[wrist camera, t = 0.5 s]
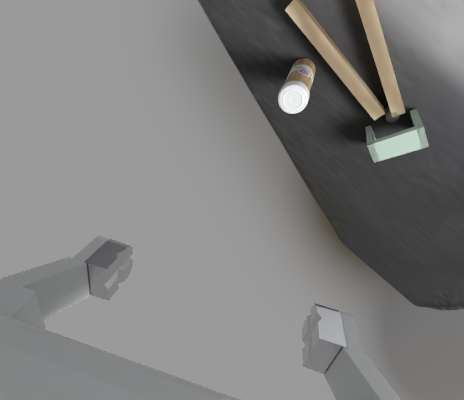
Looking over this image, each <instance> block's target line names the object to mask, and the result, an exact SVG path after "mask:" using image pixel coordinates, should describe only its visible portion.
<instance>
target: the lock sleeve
mask: <svg viewBox="0 0 464 400" xmlns="http://www.w3.org/2000/svg"><path fill="white" fill-rule="evenodd" d="M410 114H411V118H412V122H413V125H414V127H412V128H409V129H406V130H403V131H400V132H397V133H395V134H392V135H389V136H386V137H383V138H380V139H377V140H376V138H375V135H374V132H373V130H372V127H371V125H370V126H367V127H365V129H366V138H367V146H368V149H369V151H370V154H371V157H372V159H373V162H374V163H375V162H378V161H381V160H385V159H388V158H392V157H395V156H399V155H402V154H405V153H409V152H412V151H416V150H419V149H423V148H426V147H429V145H428V141H427V137H426V133H425V130H424V126H423V124H422V121H421V119H420V117H419V114H418V112H417V110H416V109H413V110H411V111H410Z"/></svg>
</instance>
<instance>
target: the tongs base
mask: <svg viewBox="0 0 464 400" xmlns="http://www.w3.org/2000/svg"><path fill="white" fill-rule="evenodd" d="M355 1H356V4H357V7H358V10H359V13H360V16H361V20H362V23H363V26H364V29H365V32H366V35H367V39H368V42H369V45H370V48H371V51H372V54H373V57H374V61H375V64H376V67H377V70H378V73H379V76H380V80H381V83H382V86H383V89H384V92H385V95H386V99H387V102H388V105H389V106H387V107H386V108H385V117H386V120H387V122H389V123H393V122H396V121H397V120H398V119H399V115H401V114H403V113H406V112H405V109H404V105H403V102H402V99H401V95H400V92H399V88H398V85H397V81H396V78H395V74H394V71H393V67H392V64H391V60H390V57H389V53H388V50H387V46H386V43H385V39H384V36H383V32H382V29H381V25H380V22H379V19H378V15H377V12H376V8H375V5H374V1H373V0H355Z"/></svg>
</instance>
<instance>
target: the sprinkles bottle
mask: <svg viewBox="0 0 464 400" xmlns="http://www.w3.org/2000/svg"><path fill="white" fill-rule="evenodd" d="M314 75H315V65H314V64H313V62H312V61H311V60H309V59H306V58H302V59H299V60H297V61H296V62H295V63H294V64H293V65H292V67H291V70H290V72H289V74H288V77H287V79H286V81H285V84H284V86H283V87H282V88H281V90H280V92H279V95H278V103H279V106H280V107H281V109H282V110H283V111H285V112H287V113H291V114H294V113H298V112H300V111H302V110H303V109H304V108H305V107H306V105H307V103H308V100H309V92H310V88H311V85H312V82H313V78H314Z"/></svg>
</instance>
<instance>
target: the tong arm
mask: <svg viewBox="0 0 464 400" xmlns="http://www.w3.org/2000/svg"><path fill="white" fill-rule="evenodd" d="M285 11H286V12H287V13H288V15H289V16H290V17H291V18H292V20H293V21H294V22H295V23H296V25H297V26H298V27H299V28H300V29H301V31H302V32H303V33H304V34H305V36H306V37H307V38H308V39H309V41H310V42H311V43H312V44H313V46H314V47H315V48H316V49H317V50H318V52H319V53H320V54H321V55H322V57H323V58H324V59H325V60H326V62H327V63H328V64H329V65H330V67H331V68H332V69H333V70H334V71H335V73H336V74H337V75H338V76H339V78H340V79H341V80H342V81H343V83H344V84H345V85H346V86H347V88H348V89H349V90H350V91H351V92H352V94H353V95H354V96H355V97H356V99H357V100H358V101H359V102H360V104H361V105H362V106H363V107H364V109H365V110H366V111H367V112H368V113H369V115H370V116H371V117H372V118H373V120H376V119H378V118H379V117H381V116H382V115H384V114H385V110H384V106H383V105H382V104H381V102H380V101H379V100H378V99H377V97H376V96H375V95H374V93H373V92H372V91H371V90H370V88H369V87H368V86H367V84H366V83H365V82H364V81H363V79H362V78H361V77H360V75H359V74H358V73H357V72H356V70H355V69H354V68H353V67H352V65H351V64H350V63H349V61H348V60H347V59H346V58H345V56H344V55H343V54H342V52H341V51H340V50H339V49H338V47H337V46H336V45H335V43H334V42H333V41H332V40H331V38H330V37H329V36H328V34H327V33H326V32H325V31H324V29H323V28H322V27H321V25H320V24H319V23H318V22H317V20H316V19H315V18H314V16H313V15H312V14H311V13H310V11H309V10H308V9H307V7H306V6H305V5H304V4H303V2H302V1H301V0H293V1H292V2H291V3H290V4H289V5H288V7H287V8H286V9H285Z"/></svg>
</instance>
